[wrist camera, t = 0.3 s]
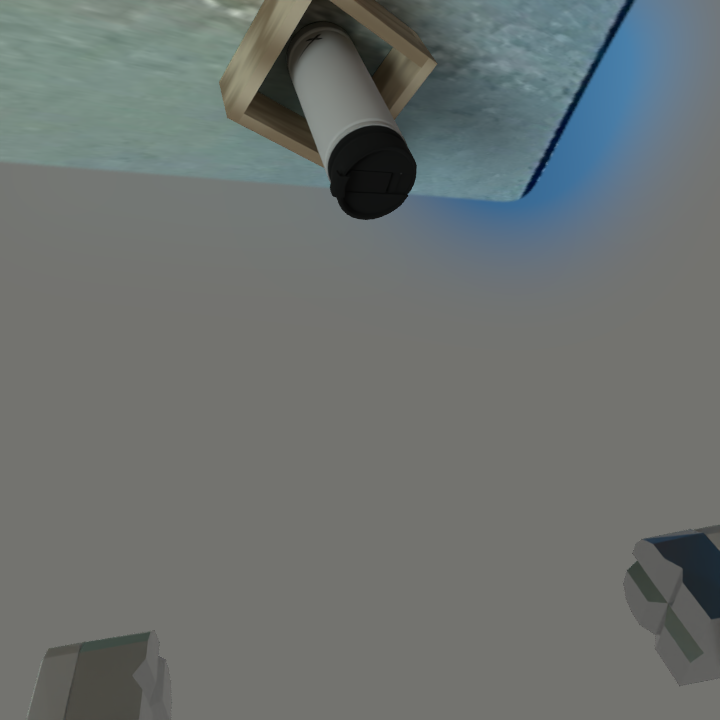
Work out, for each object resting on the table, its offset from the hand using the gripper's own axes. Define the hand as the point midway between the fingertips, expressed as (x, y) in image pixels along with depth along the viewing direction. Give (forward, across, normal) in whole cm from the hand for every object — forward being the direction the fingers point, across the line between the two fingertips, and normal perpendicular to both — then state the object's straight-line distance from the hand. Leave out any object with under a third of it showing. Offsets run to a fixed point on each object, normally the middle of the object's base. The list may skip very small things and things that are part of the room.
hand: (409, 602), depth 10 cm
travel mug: (+54, -6, -3) cm, 55 cm away
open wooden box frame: (+54, -6, -2) cm, 54 cm away
